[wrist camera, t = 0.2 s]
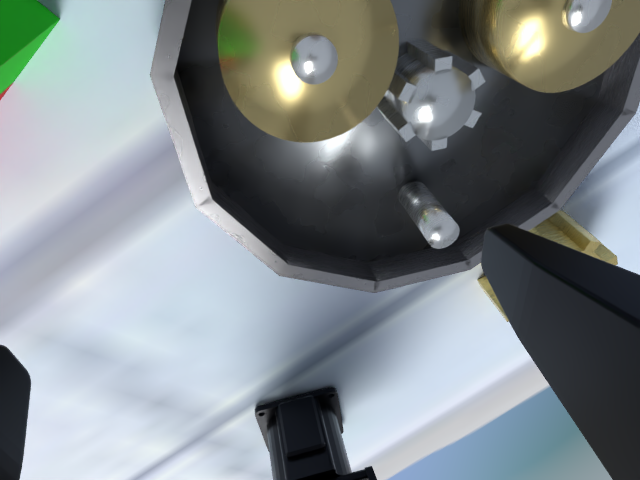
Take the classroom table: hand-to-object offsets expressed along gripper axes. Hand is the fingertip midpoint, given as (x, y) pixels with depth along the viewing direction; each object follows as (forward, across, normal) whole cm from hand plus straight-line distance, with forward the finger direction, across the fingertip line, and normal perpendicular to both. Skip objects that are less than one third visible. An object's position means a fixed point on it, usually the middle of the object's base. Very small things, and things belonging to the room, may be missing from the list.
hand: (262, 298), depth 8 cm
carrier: (+14, -8, +2) cm, 17 cm away
